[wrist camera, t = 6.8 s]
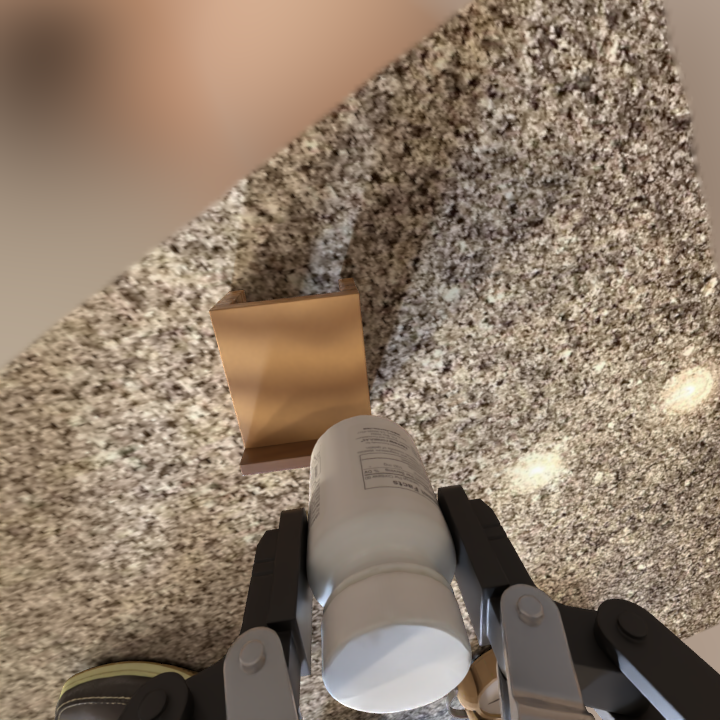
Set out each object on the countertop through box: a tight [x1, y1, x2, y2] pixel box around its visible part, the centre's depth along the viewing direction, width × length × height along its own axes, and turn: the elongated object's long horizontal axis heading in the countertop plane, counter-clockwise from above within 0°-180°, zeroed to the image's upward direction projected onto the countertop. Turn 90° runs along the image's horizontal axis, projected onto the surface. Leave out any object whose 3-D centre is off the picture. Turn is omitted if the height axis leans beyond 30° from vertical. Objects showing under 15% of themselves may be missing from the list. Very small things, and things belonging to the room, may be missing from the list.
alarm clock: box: [445, 649, 501, 720], centre depth 52 cm, size 11×5×15 cm
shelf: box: [209, 278, 371, 476], centre depth 29 cm, size 12×10×8 cm
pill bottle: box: [306, 415, 472, 713], centre depth 12 cm, size 4×4×8 cm
